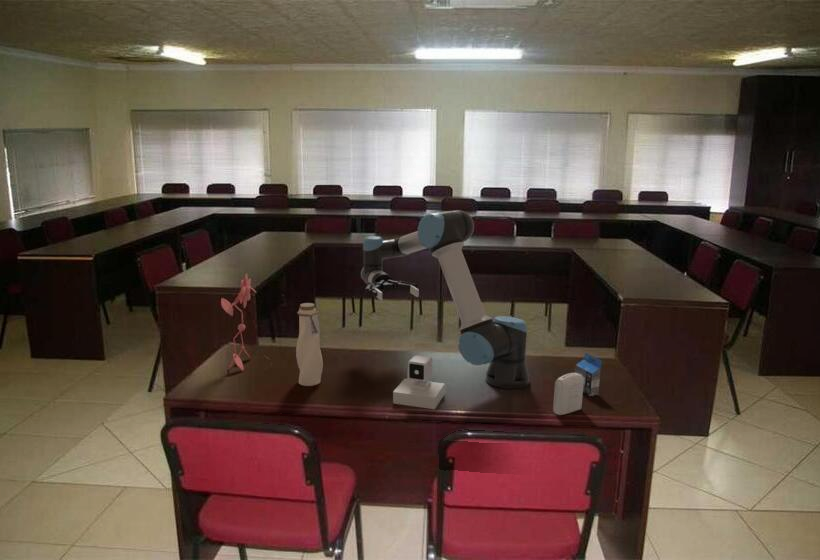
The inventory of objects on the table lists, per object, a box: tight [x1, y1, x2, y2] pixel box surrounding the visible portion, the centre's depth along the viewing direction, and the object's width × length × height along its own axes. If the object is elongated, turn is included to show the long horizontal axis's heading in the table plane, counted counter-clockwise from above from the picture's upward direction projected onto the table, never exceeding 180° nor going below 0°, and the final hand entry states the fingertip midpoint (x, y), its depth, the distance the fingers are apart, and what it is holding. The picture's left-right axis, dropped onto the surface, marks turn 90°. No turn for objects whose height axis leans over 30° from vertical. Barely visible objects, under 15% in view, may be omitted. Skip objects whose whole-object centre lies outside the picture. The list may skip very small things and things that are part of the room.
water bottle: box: [295, 302, 324, 387], centre depth 212 cm, size 10×9×28 cm
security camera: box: [406, 354, 433, 391], centre depth 200 cm, size 6×7×10 cm
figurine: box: [220, 272, 272, 376], centre depth 226 cm, size 15×26×35 cm, turn 178°
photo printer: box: [552, 372, 584, 416], centre depth 193 cm, size 10×4×12 cm, turn 123°
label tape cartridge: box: [574, 352, 603, 397], centre depth 208 cm, size 9×4×12 cm, turn 23°
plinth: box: [392, 377, 446, 410], centre depth 202 cm, size 14×12×4 cm
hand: (399, 294), depth 215 cm, fingers open, 13 cm apart
